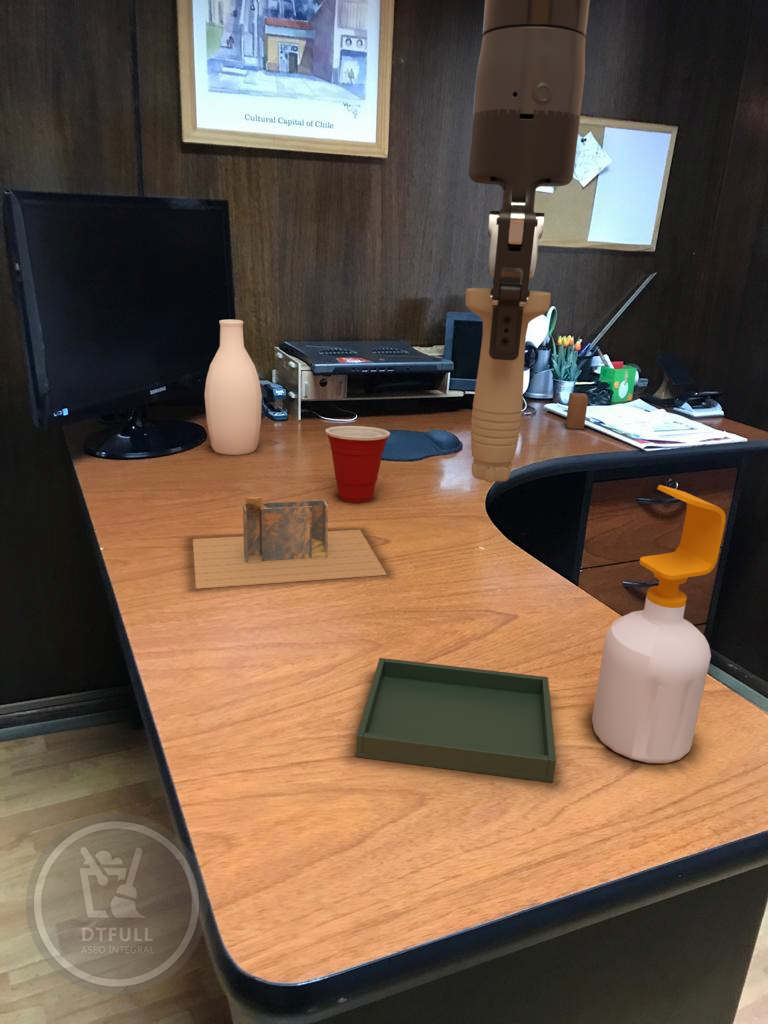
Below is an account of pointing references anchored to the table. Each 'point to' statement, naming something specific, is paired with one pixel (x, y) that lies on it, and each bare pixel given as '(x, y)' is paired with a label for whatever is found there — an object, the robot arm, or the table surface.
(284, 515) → the ruin model on sheet
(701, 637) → the soap bottle
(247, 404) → the bottle
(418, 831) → the table surface
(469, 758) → the brush tray
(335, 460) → the plastic cup
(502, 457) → the handle
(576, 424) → the wooden block
